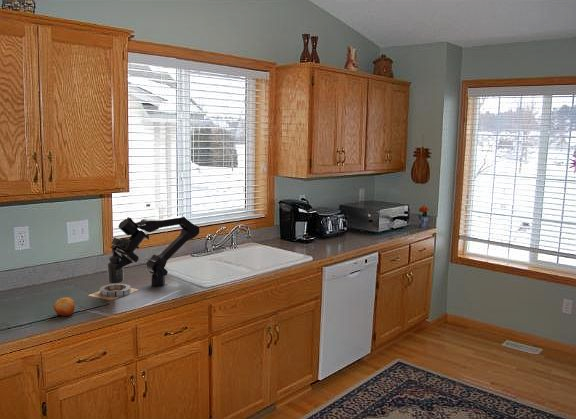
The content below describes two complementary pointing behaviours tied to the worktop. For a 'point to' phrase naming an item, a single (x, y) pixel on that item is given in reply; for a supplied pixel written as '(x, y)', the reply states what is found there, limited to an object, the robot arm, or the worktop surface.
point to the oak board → (108, 297)
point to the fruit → (64, 306)
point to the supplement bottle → (114, 270)
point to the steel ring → (122, 288)
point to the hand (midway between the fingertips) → (112, 267)
